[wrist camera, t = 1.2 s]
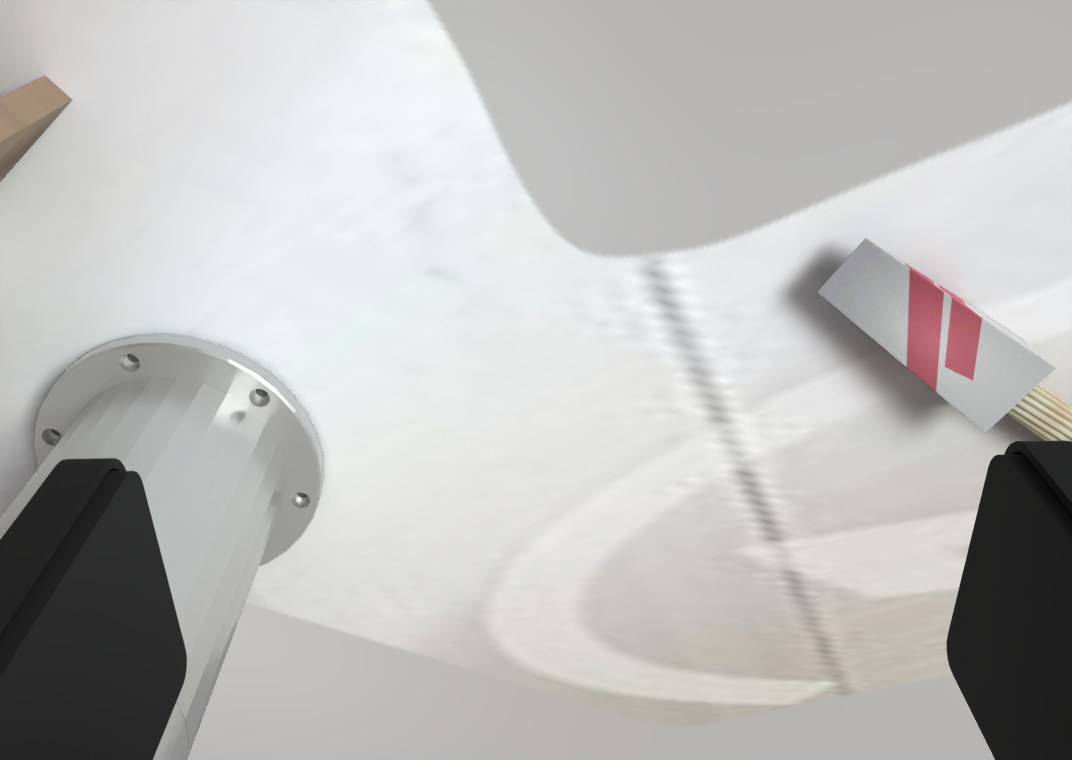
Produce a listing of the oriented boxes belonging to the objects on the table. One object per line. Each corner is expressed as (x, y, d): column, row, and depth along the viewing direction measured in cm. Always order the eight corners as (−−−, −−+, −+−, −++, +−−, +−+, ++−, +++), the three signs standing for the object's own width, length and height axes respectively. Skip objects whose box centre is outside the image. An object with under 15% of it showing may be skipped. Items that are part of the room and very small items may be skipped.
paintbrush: (889, 241, 37) (1204, 482, 44) (865, 215, 40) (1167, 447, 46) (818, 317, 39) (1132, 539, 45) (799, 287, 41) (1100, 502, 48)
